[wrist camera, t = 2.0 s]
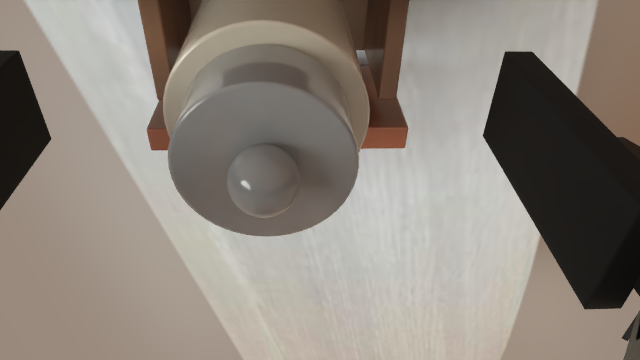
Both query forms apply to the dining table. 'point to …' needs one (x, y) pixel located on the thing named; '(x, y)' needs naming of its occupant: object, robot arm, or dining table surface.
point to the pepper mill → (266, 114)
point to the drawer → (368, 34)
